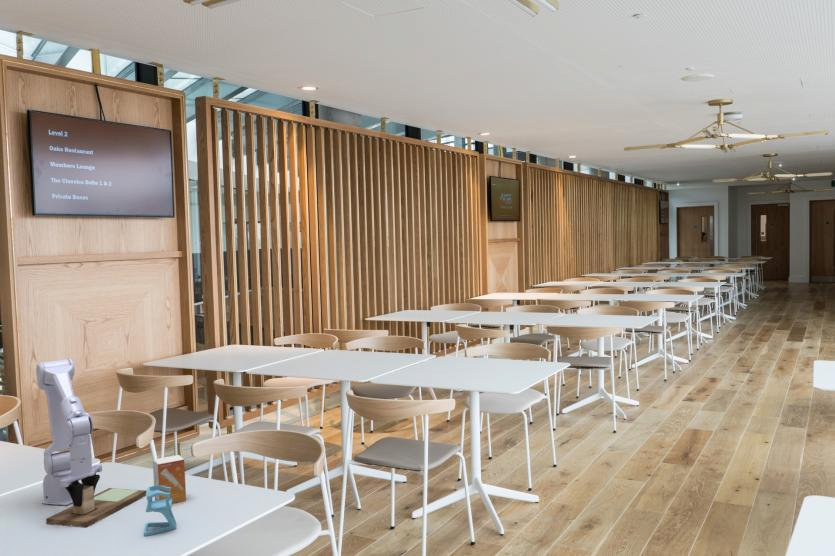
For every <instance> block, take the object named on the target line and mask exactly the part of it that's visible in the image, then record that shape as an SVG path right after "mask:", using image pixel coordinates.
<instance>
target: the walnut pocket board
mask: <svg viewBox="0 0 835 556" xmlns="http://www.w3.org/2000/svg"><path fill="white" fill-rule="evenodd" d="M110 489H117V488H112V487H108V488H106V489H104V490H102V491H100V492H99V493H96V494H94V497H96V496H98V495H100V494H102V493H104V492H106V491H108V490H110ZM125 489H126V490H131V489H129V488H125ZM138 490H139V491H138V492H137V493H135V494H133V495H131V496H129V497H127V498H125V499H123V500H121V501H119V502H117V503H116V502H103V501H94V506H95V509H94V510H93V511H91V512H89V513H87V514H74V513H73V505H72V506H69V507H68V508H65V509H63V510H61V511H59V512H57V513H55V514H53V515H51V516H48V517H47V518H46V519H45V520H46V521H45V522H46V525H47V524H48V525H55V524H56V525H58V526H66V525H70V527H78V526H83V527H82V528H89V527H90V526H92V525H94V524H96V523H98V522H100V521H102V520H103V519H105V518H107V517H109V516H111V515H113V514H114V513H116V512H118V511H120V510H122V509H124V508H125V507H127V506H130V505H131V504H133V503H135V502H137V501H138V500H141V499H142V498H144V497H146V490H143V489H138ZM140 498H141V499H140ZM99 520H100V521H99ZM97 521H98V522H97ZM95 522H96V523H95ZM56 525H55V526H56ZM71 525H72V526H71ZM89 525H90V526H89Z"/></svg>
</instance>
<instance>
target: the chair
mask: <svg viewBox="0 0 835 556" xmlns="http://www.w3.org/2000/svg"><path fill="white" fill-rule="evenodd" d="M157 489H164V490H166V491H168V492H167V493H165V492H163V491H159V490H157ZM170 490H171V487H165V486H162V485H155V486H154V485H151V486H149V487H147V488H146V490H145V491H146V496H145V497H146V501H147V503H146V507H145V512H146V513H152V512H154V513H161V514H162V515H163V516H164V517H165V519H166V521H158V522H157V521H156V522H154V521H151V522H145V524H144V530H143V537H148V536H152V535H155V534H160V533H163V532H167V531H171V530H175V529H177V521H176V519H175V516H174V513H173V511H172V505H173V503H172V499H170V494H171V493H170ZM159 495H160V496H165V497H167V498H166V499H165V500H158V501H155V500H153V498H155V496H159ZM149 527H160V528H155V529H152V530H148V528H149Z"/></svg>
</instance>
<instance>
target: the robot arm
mask: <svg viewBox="0 0 835 556" xmlns="http://www.w3.org/2000/svg"><path fill="white" fill-rule="evenodd" d="M75 371H76V370H75V364H74V361H73V360H72V359H71V358H66V359H59V360H51V361H43V362H42V361H41V362H38V363H37V364H36V368H35V374H36V376H35V377H36V381H37V386H38V389H39V390H42V391H44V393H45V397H46V403H47V410H48V411H47V412H48V417H49V418H48V419H49V426H50V433H51V441H52V443H50V444H49V445H48V446H47V447H46V449H44V451H43V466H44V467H43V468H44V472H45V473H46V474H45V476H44V477H43V480H42V488H43V489H42V490H43V501H41V504H43V505H54V506H55V505H57V506H69V505H71V504H72V505H73V504H74V506H77V507H80V506H82V492H83V487H84V485H85V486H93V490H94V493H95V492H96V487H97V485H98V483H99V480H100V479H101V476H100V474H97V473H102V472H103V465H102V464H95V465H93V460H92V446H91V445H92V442H91V435H92V433H93V431H94V429H93V428H94V425H93V419H92V417H91V415H90V414H89V413H88V412H86V411H85V409H84V406H83V403H82V400H81V399H80V398H81V397H78V396H75V392H74V388H73V385H72V381H73V379H74V376H75V373H76V372H75ZM63 450H65V451H63Z"/></svg>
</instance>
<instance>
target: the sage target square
mask: <svg viewBox="0 0 835 556" xmlns="http://www.w3.org/2000/svg"><path fill="white" fill-rule="evenodd" d="M126 489H127V488H116V489H110V490H108V491H106V492H104V493H102V494H100V495H98V496H96V497H94V501H103V502H116V503H117V502H119V501H121V500H123V499H125V498H127V497H129V496H131V495H133V494H135V493H137V492H138V491H139V490H140V489H130V490H126Z"/></svg>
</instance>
